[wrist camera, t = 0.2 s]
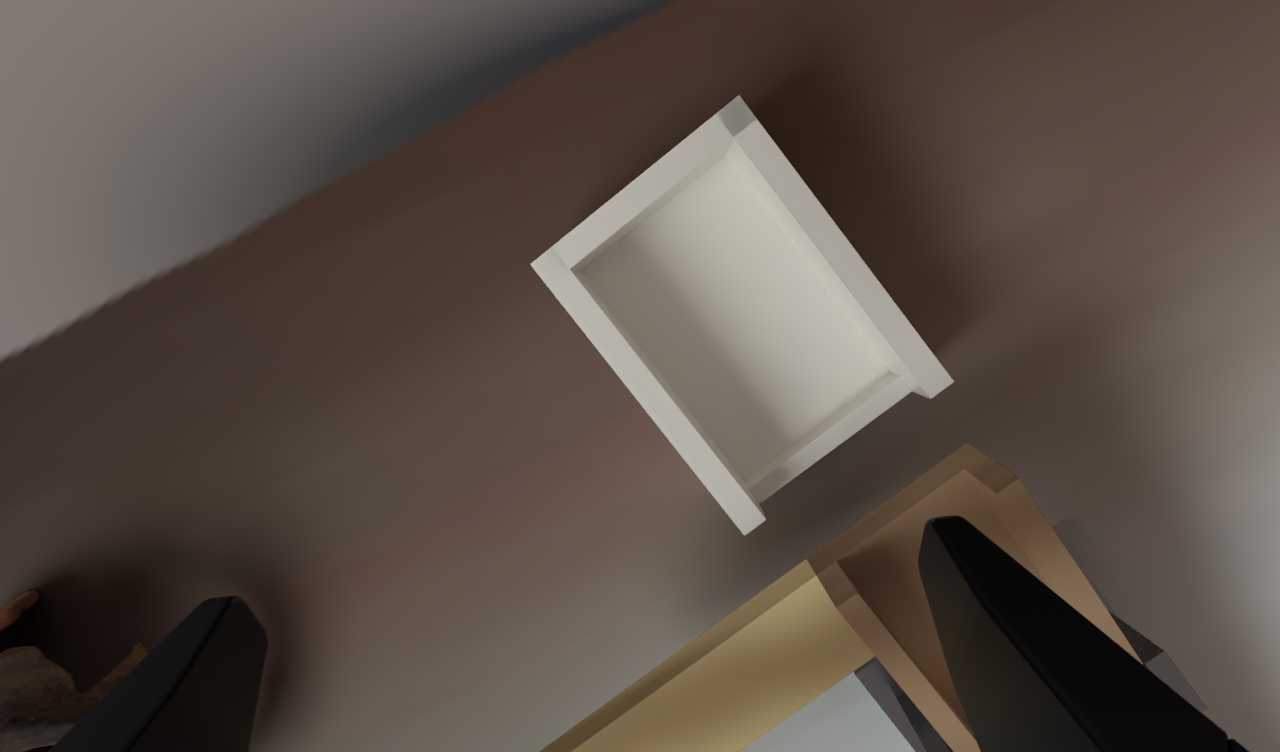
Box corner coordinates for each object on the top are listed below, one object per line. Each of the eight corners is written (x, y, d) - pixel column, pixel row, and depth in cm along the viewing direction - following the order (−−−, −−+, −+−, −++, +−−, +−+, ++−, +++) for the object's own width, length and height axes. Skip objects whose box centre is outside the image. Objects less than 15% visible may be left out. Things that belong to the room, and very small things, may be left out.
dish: (915, 369, 24) (954, 382, 21) (734, 504, 24) (744, 535, 21) (728, 122, 23) (738, 95, 20) (548, 268, 24) (530, 264, 21)
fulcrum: (1133, 644, 25) (1258, 737, 19) (937, 776, 25) (1006, 899, 20) (1048, 529, 24) (1151, 594, 19) (851, 667, 25) (899, 764, 20)
